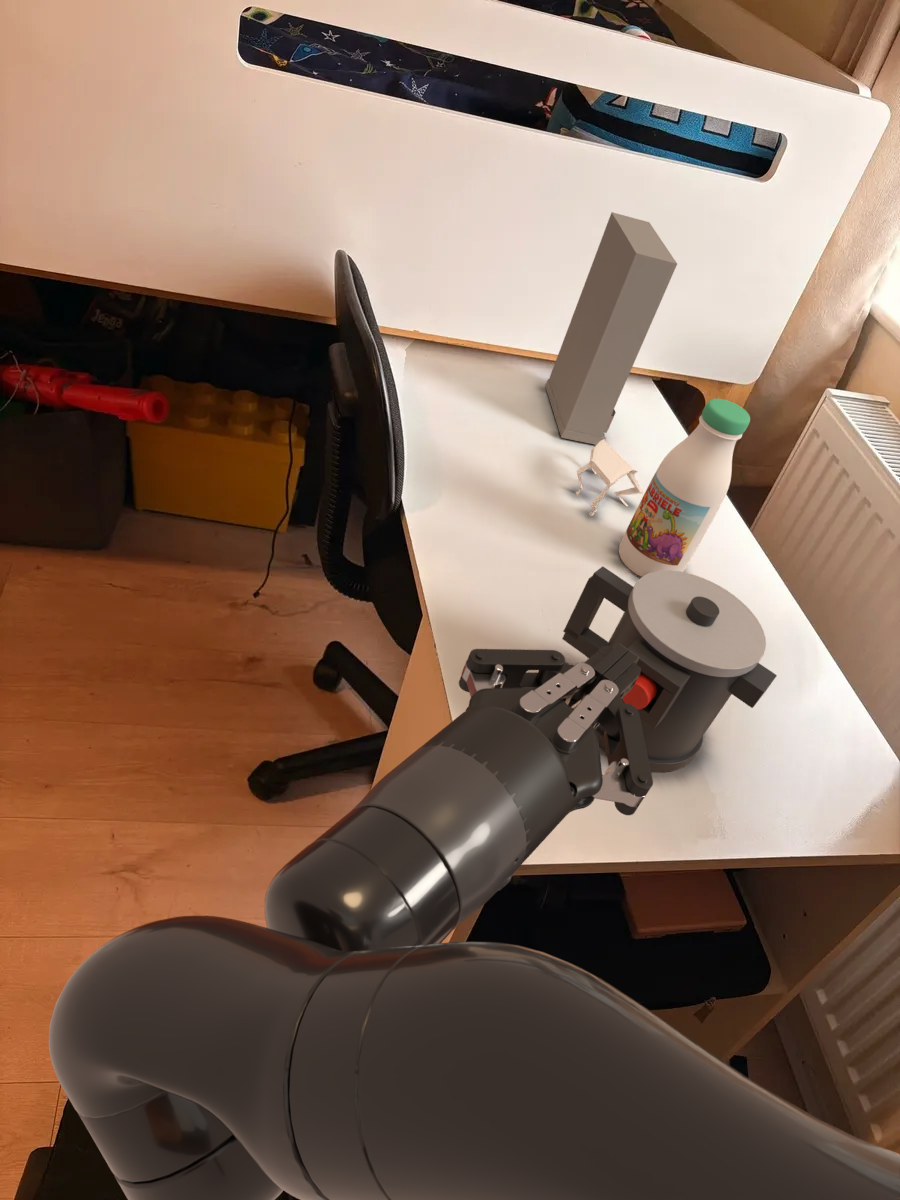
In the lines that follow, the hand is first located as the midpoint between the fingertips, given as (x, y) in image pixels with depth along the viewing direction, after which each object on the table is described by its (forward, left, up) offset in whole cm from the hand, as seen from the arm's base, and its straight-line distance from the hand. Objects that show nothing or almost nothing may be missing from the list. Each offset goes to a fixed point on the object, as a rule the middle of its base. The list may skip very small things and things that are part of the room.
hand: (624, 660), depth 56 cm
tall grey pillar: (+40, -59, -20) cm, 74 cm away
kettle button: (+1, -11, -12) cm, 17 cm away
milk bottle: (+15, -41, -20) cm, 48 cm away
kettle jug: (+3, -18, -20) cm, 27 cm away
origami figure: (+27, -47, -20) cm, 57 cm away
